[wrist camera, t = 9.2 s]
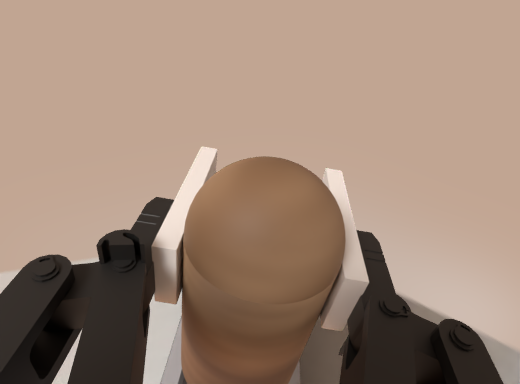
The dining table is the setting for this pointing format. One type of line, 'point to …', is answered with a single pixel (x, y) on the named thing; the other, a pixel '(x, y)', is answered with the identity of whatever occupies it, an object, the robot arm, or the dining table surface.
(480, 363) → the robot arm
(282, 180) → the wooden dome-top peg
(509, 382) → the dining table surface
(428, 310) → the dining table surface
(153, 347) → the dining table surface
